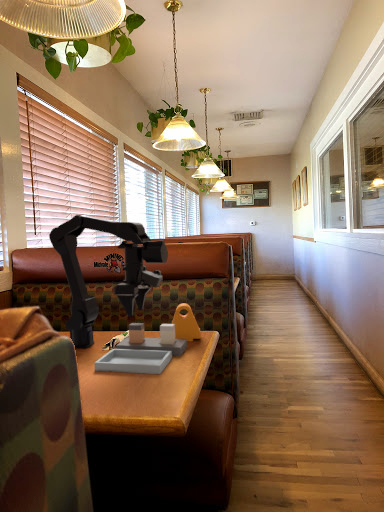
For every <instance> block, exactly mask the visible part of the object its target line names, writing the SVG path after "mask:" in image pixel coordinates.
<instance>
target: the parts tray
mask: <svg viewBox="0 0 384 512" xmlns="http://www.w3.org/2000/svg"><path fill="white" fill-rule="evenodd" d="M172 359H173V356H172V351H159V350H132V349H116V348H112V349H110V350H109V351H108V352H107V353H105V354H104V355H103V356H101V357H100V358H99V359H97V360H96V361H95V362H94V371H95V372H109V371H112V373H113V372H114V373H117V372H118V373H129V374H130V373H131V374H151V375H160V374H161V373H162V372H163V371H164V370H165V368H166V367H167V366H168V365H169V363H170V362H171V360H172Z"/></svg>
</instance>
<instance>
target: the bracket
mask: <svg viewBox="0 0 384 512" xmlns="http://www.w3.org/2000/svg"><path fill="white" fill-rule="evenodd" d="M182 310H186V311H187V313H186V314H185V315H183V314H181V313H180V312H181V311H182ZM171 324H175V339H187V342H193V341H194V339H201V338H202V336H201V328H200V327H199V325H198V321H197V320H196V318H195V315H194V313H193V311H192V308H191V306H190V305H189V304H188V303H184V302H183V303H179V304H178V305H177V307H176V309H175V312H174V315H173V318H172V320H171Z"/></svg>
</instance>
